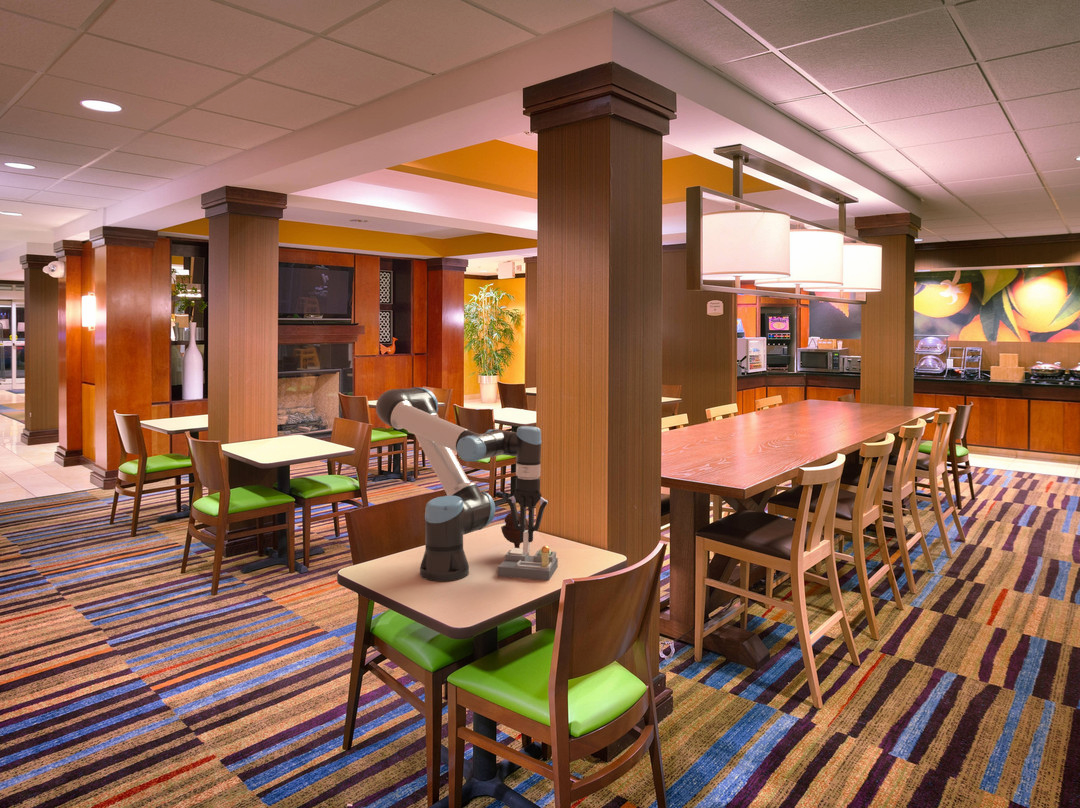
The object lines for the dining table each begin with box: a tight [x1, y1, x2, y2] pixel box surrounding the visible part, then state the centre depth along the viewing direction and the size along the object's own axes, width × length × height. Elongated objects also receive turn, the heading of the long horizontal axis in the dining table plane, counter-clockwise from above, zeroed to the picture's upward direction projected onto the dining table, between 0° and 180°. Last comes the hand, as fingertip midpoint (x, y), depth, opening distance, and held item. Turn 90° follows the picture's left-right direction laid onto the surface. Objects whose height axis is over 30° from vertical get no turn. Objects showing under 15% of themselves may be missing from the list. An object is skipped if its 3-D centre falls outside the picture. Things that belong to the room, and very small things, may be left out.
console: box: [497, 549, 559, 581], centre depth 217 cm, size 16×13×5 cm
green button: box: [538, 548, 551, 556], centre depth 219 cm, size 4×4×3 cm
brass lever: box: [540, 545, 551, 567], centre depth 213 cm, size 3×3×6 cm
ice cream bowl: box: [500, 511, 528, 548], centre depth 234 cm, size 11×11×15 cm
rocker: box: [510, 547, 524, 555], centre depth 221 cm, size 4×3×1 cm
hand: (526, 551), depth 214 cm, fingers closed
